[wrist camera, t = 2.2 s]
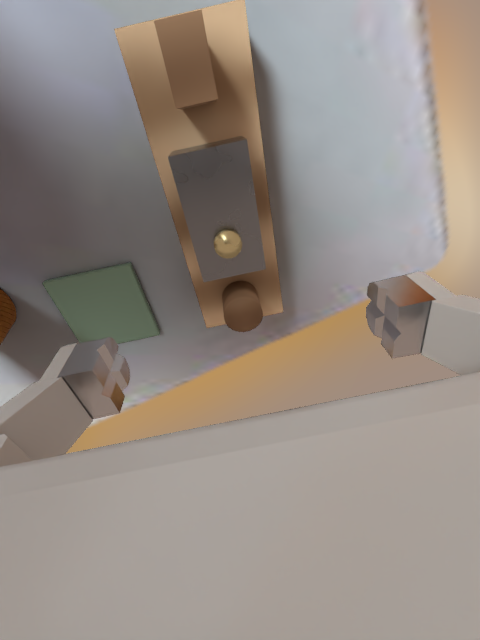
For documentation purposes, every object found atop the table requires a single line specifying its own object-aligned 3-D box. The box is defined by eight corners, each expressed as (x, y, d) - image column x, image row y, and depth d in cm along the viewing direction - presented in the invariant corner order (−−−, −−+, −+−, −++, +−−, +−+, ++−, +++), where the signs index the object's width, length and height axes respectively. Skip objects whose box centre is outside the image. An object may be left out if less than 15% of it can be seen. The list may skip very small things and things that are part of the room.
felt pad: (45, 280, 28) (42, 283, 27) (130, 262, 27) (129, 265, 27) (86, 346, 32) (84, 350, 32) (160, 331, 32) (159, 335, 32)
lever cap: (172, 151, 19) (166, 158, 16) (241, 135, 19) (248, 140, 16) (203, 264, 24) (203, 286, 21) (259, 252, 24) (267, 272, 21)
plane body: (129, 43, 19) (83, 0, 12) (237, 18, 19) (258, -41, 12) (208, 309, 31) (209, 371, 24) (275, 295, 31) (297, 353, 23)
